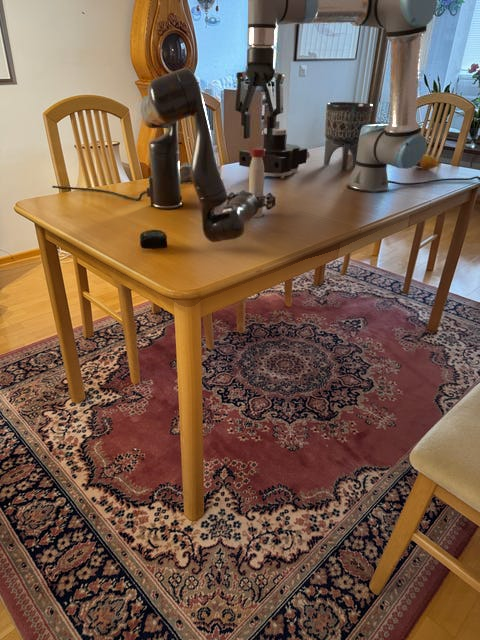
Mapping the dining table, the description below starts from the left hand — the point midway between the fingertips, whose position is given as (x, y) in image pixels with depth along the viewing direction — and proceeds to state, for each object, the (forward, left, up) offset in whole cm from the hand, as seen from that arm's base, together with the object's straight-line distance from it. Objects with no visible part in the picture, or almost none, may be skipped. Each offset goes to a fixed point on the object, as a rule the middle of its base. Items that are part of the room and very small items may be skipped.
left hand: (256, 194), depth 142 cm
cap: (0, -2, +14) cm, 14 cm away
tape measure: (-17, -38, -6) cm, 42 cm away
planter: (+18, +84, -6) cm, 86 cm away
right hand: (0, -1, +17) cm, 17 cm away
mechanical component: (-5, +60, -6) cm, 61 cm away
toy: (+55, +97, -6) cm, 112 cm away
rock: (-36, +33, -6) cm, 49 cm away
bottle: (0, -1, -6) cm, 6 cm away
